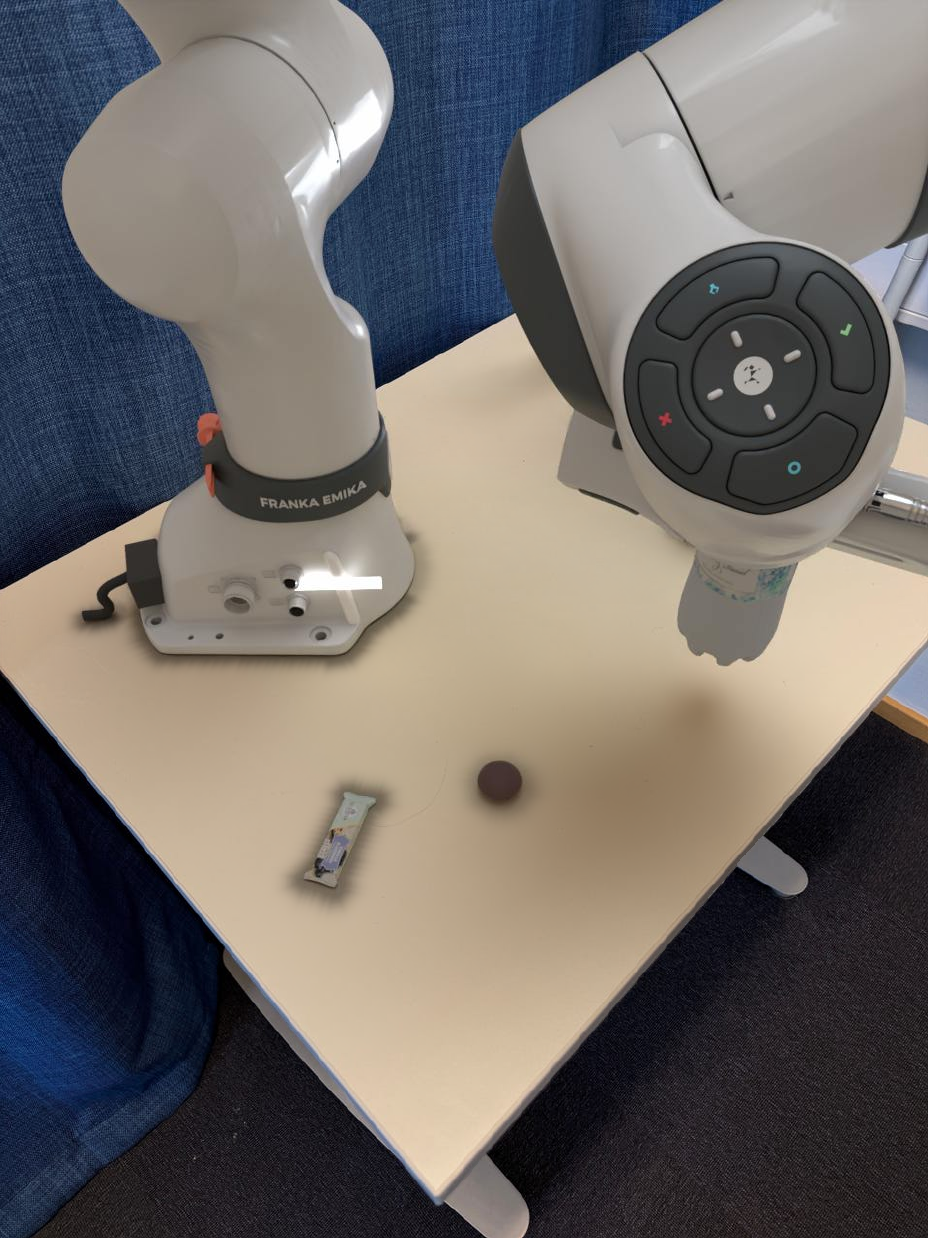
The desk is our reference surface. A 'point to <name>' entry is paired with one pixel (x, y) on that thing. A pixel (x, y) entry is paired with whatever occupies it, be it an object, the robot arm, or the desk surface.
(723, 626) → the bottle
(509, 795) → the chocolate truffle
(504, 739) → the desk surface
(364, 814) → the granola bar
